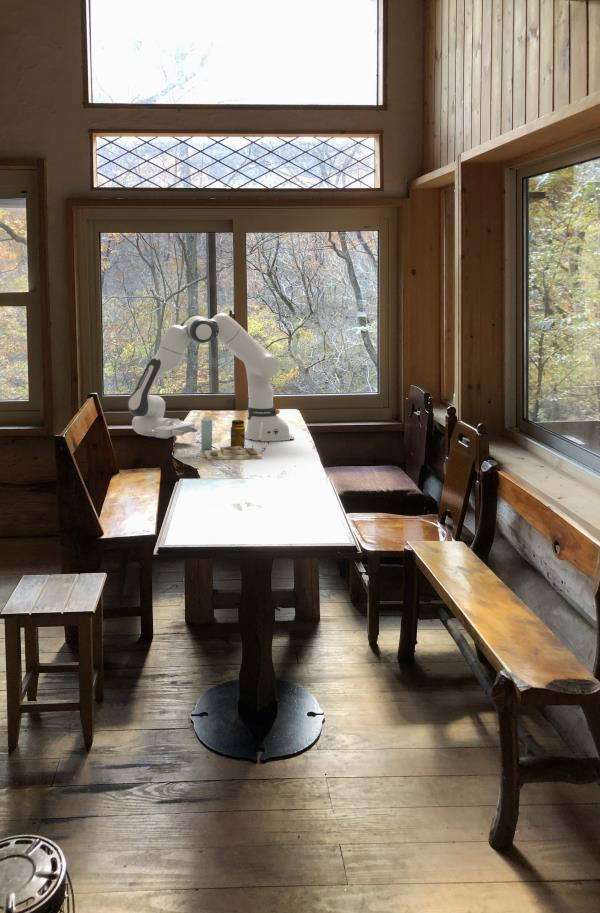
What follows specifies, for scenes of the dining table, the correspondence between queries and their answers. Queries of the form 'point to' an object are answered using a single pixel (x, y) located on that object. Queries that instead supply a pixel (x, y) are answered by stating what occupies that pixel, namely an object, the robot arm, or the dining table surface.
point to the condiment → (237, 434)
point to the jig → (232, 453)
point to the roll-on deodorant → (206, 434)
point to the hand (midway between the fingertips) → (189, 431)
